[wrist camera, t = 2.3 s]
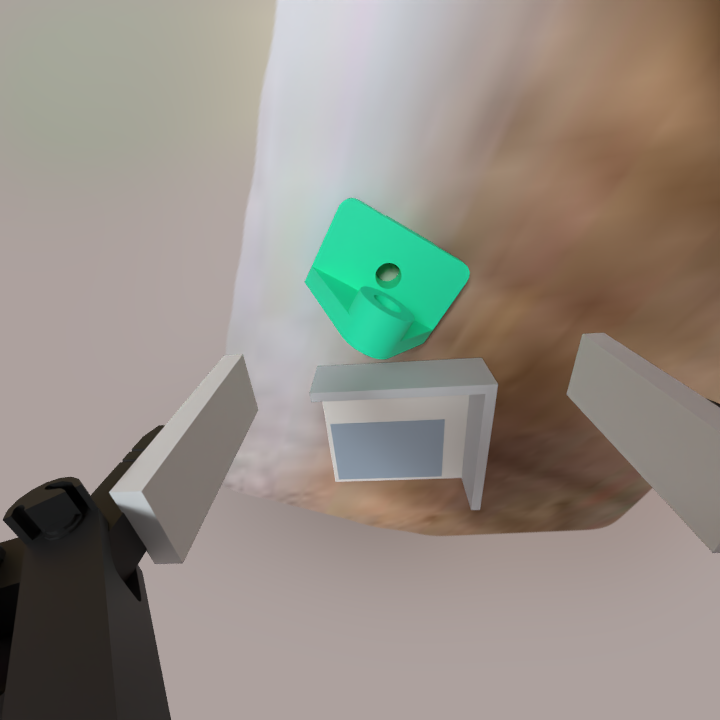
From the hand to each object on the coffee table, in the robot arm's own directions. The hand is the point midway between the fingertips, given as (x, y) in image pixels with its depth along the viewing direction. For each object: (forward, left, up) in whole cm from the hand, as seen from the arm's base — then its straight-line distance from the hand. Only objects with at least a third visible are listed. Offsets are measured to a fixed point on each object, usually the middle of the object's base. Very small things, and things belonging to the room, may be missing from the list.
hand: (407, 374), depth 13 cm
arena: (+19, 0, -19) cm, 27 cm away
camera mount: (0, 0, -19) cm, 19 cm away
